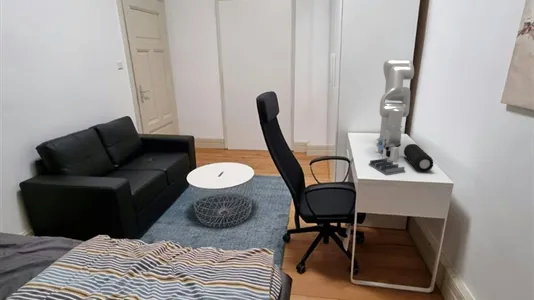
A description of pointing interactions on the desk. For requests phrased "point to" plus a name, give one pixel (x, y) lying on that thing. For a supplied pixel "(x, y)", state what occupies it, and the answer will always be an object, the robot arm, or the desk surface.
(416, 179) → the desk surface
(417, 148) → the portable speaker
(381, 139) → the light bulb box
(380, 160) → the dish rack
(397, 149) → the white block
